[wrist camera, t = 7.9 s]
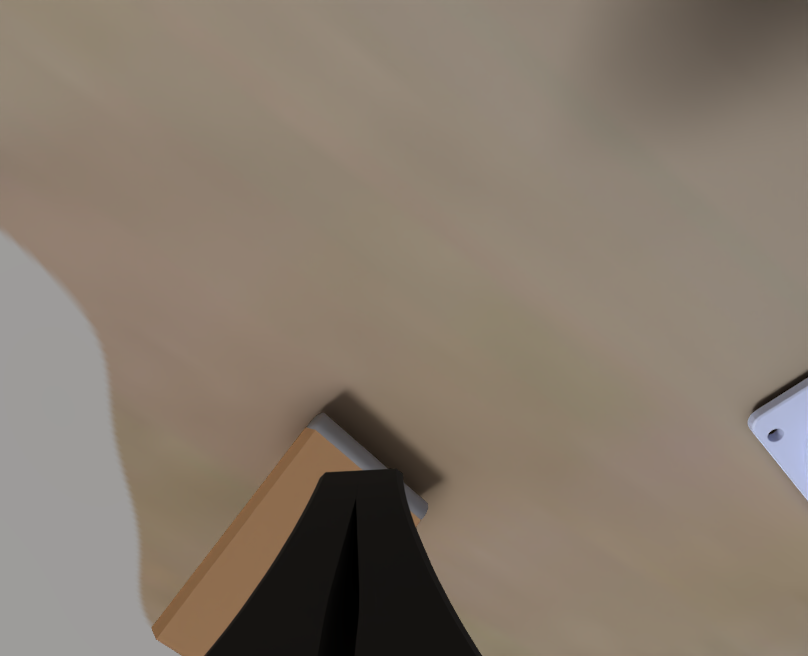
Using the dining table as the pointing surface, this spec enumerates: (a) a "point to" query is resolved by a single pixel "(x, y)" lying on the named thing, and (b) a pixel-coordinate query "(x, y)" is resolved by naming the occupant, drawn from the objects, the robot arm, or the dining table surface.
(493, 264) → the dining table surface
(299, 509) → the latch flap
